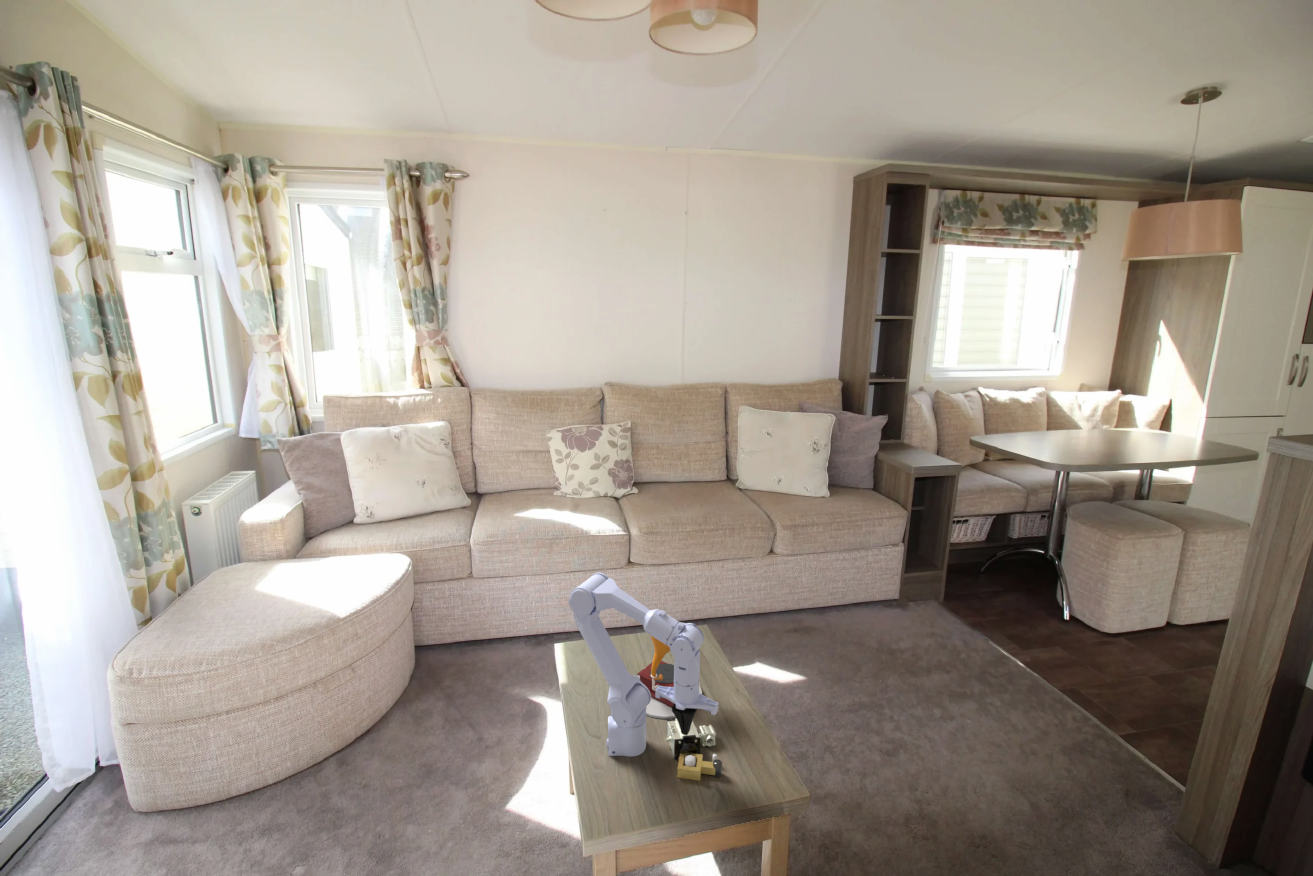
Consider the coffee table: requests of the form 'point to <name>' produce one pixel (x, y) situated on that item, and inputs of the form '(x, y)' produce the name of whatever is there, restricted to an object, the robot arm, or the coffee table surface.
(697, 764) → the square nut with handle
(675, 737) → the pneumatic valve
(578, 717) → the coffee table surface
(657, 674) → the gramophone
